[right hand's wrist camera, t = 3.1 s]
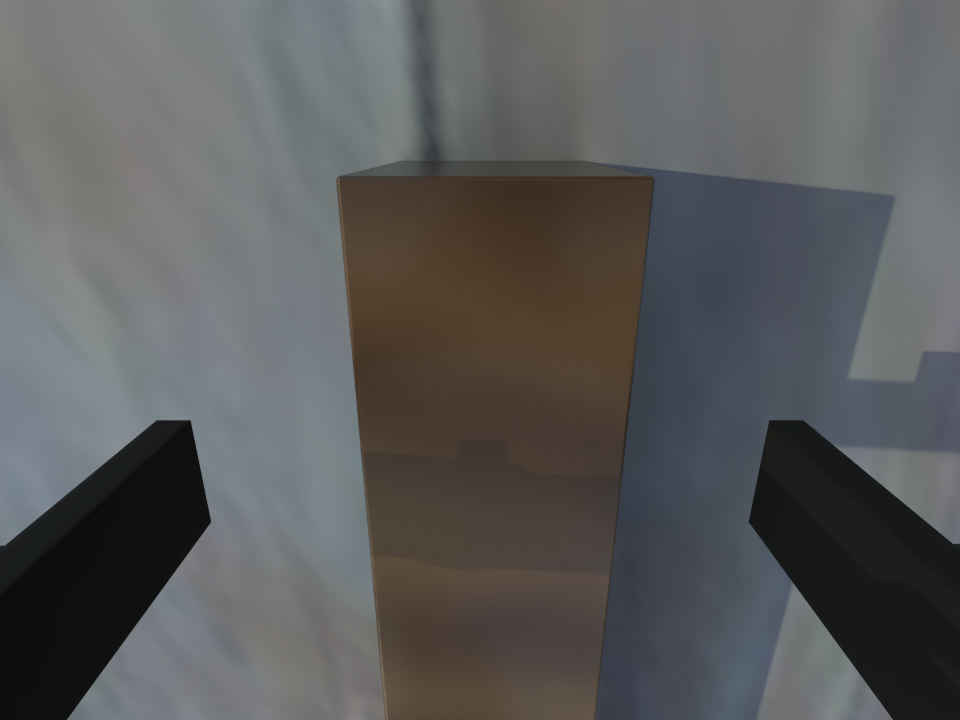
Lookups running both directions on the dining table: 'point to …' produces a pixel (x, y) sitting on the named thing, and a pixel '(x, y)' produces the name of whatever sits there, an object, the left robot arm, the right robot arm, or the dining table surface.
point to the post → (493, 422)
